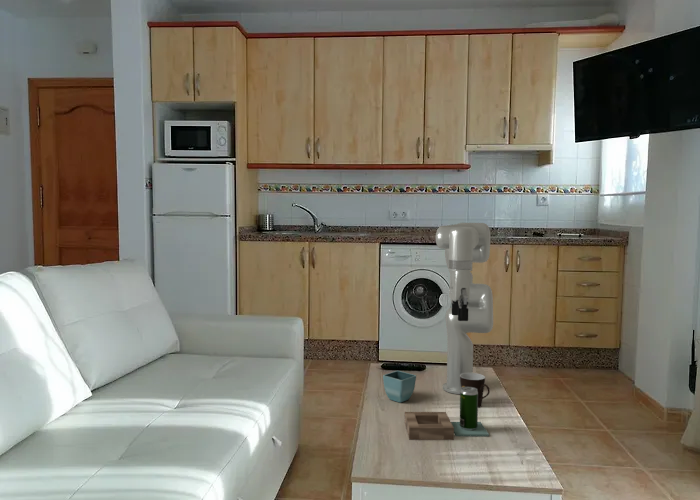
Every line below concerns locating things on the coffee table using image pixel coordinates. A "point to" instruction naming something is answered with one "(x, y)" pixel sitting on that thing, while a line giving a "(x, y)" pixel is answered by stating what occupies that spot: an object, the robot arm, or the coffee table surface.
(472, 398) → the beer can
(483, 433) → the rubber pad
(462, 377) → the coffee mug
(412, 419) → the holder block
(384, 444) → the coffee table surface
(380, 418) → the coffee table surface
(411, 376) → the flower pot
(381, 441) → the coffee table surface
